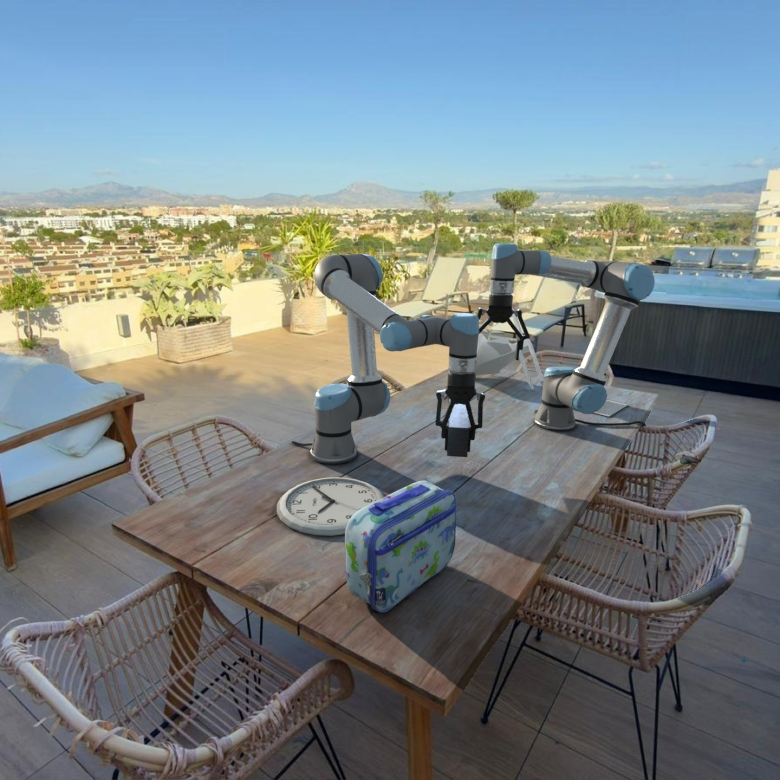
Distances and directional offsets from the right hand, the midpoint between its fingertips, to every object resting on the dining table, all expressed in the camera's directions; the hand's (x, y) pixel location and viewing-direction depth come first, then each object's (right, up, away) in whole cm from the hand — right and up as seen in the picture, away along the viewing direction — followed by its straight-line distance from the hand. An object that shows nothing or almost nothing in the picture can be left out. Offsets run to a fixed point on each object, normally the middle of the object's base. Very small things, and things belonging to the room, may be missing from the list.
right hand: (495, 358), depth 173 cm
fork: (-9, -13, +64) cm, 66 cm away
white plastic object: (+18, -7, +84) cm, 86 cm away
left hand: (-16, -27, -24) cm, 40 cm away
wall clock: (-51, -42, -30) cm, 73 cm away
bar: (-15, -25, -14) cm, 32 cm away
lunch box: (-33, -52, -61) cm, 87 cm away
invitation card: (+56, -18, +53) cm, 79 cm away
